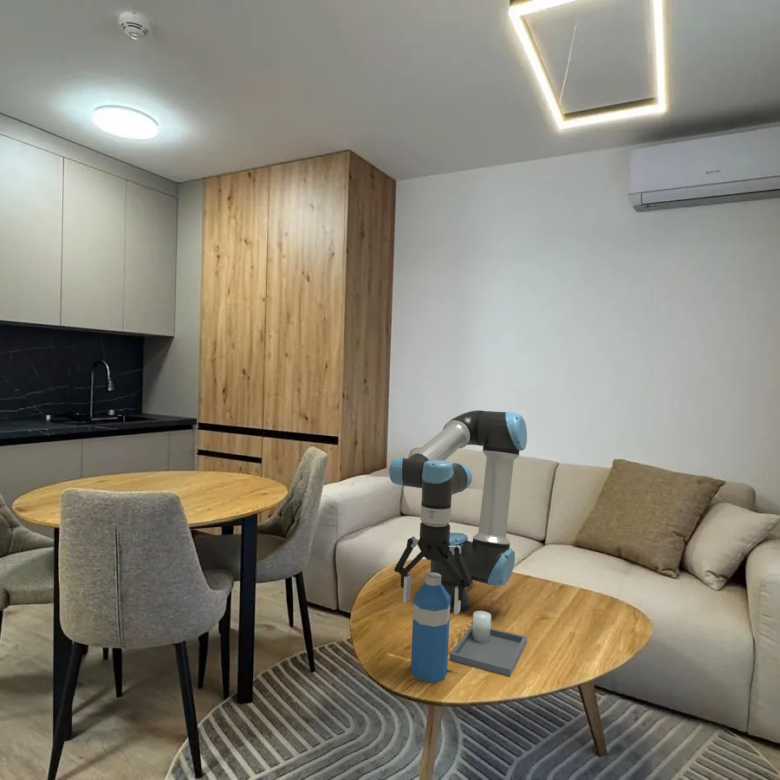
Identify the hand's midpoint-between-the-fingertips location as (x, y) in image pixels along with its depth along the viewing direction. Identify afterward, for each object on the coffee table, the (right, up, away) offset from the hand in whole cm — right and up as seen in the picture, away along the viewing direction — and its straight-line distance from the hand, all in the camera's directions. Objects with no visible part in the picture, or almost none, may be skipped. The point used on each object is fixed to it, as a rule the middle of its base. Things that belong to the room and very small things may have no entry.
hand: (431, 606), depth 140 cm
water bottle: (-1, -17, +1) cm, 17 cm away
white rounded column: (+16, -16, +18) cm, 29 cm away
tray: (+17, -17, +12) cm, 27 cm away
